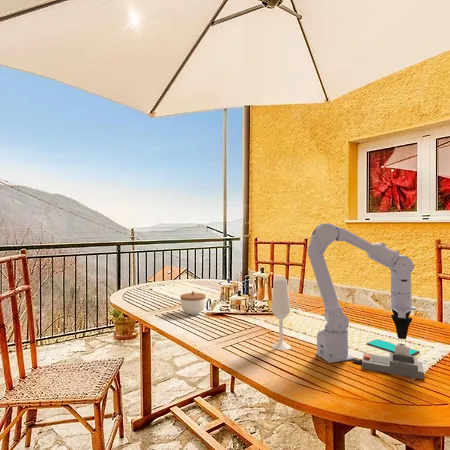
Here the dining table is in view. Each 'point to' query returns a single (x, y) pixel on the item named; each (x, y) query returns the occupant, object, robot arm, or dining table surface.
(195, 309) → the lidded sugar bowl
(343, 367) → the dining table surface
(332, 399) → the dining table surface
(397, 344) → the block
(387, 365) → the power strip
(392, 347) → the smartphone
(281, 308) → the champagne flute
